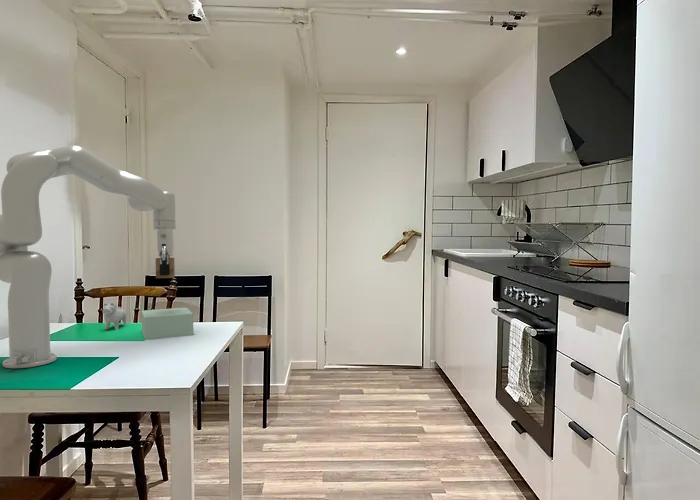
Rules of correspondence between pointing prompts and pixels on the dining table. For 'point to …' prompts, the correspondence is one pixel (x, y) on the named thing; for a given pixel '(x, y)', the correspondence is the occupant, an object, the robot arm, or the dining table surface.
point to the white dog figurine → (113, 314)
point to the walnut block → (171, 268)
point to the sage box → (167, 323)
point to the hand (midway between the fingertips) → (165, 274)
